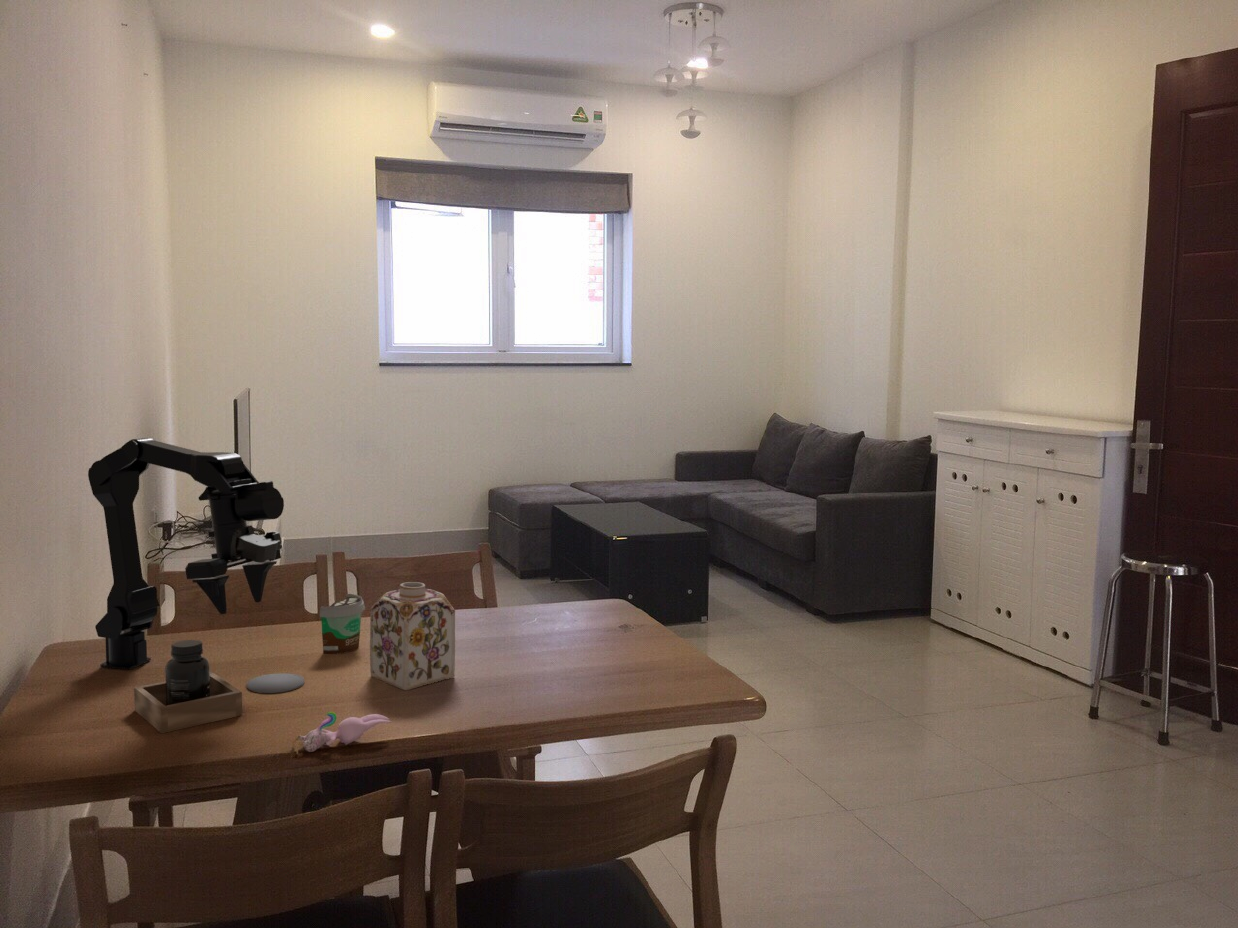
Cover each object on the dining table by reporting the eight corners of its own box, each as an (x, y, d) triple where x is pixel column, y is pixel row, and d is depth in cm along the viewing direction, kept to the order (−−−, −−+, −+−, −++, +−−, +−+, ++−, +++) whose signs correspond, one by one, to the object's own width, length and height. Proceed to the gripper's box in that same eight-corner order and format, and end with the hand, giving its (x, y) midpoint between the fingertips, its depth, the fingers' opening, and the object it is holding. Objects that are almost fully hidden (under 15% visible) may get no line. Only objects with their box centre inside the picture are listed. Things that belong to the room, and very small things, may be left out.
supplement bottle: (219, 711, 170) (217, 642, 169) (182, 723, 165) (181, 651, 163) (193, 702, 174) (192, 635, 173) (157, 714, 168) (155, 644, 167)
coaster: (235, 690, 181) (235, 687, 181) (266, 673, 191) (266, 671, 190) (285, 695, 179) (285, 693, 179) (314, 678, 188) (314, 676, 188)
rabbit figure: (300, 767, 152) (396, 736, 159) (293, 730, 151) (390, 701, 158) (292, 752, 158) (386, 723, 164) (285, 716, 157) (380, 689, 163)
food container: (348, 658, 201) (347, 609, 200) (319, 655, 202) (319, 606, 201) (375, 641, 213) (375, 595, 212) (348, 638, 214) (347, 592, 213)
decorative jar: (368, 676, 190) (368, 583, 188) (419, 663, 199) (419, 574, 197) (405, 692, 182) (406, 594, 180) (457, 678, 191) (457, 585, 189)
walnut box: (134, 710, 170) (134, 687, 169) (212, 694, 179) (212, 672, 178) (161, 733, 160) (160, 708, 160) (242, 714, 169) (241, 691, 169)
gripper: (229, 528, 170) (241, 618, 171) (299, 512, 188) (310, 594, 189) (177, 532, 174) (190, 620, 175) (250, 516, 192) (261, 597, 193)
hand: (241, 607), depth 183 cm, fingers open, 9 cm apart
